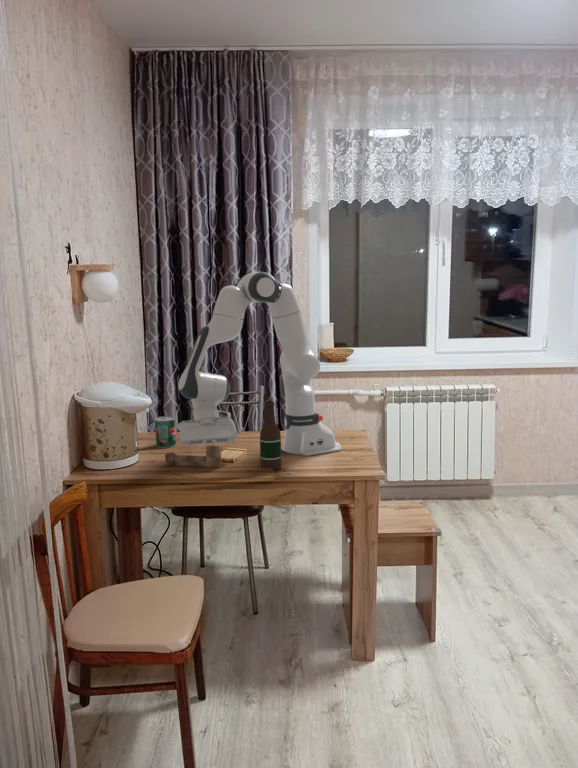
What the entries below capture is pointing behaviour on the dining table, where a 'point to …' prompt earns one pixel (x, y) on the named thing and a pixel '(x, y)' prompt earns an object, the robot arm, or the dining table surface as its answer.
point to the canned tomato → (165, 432)
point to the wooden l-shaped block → (196, 458)
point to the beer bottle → (270, 440)
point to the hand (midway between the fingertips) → (210, 452)
